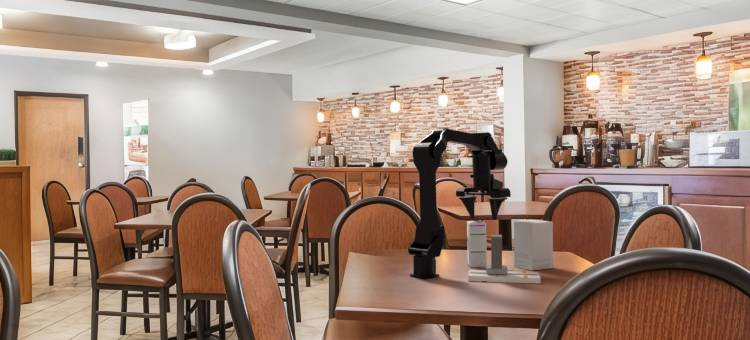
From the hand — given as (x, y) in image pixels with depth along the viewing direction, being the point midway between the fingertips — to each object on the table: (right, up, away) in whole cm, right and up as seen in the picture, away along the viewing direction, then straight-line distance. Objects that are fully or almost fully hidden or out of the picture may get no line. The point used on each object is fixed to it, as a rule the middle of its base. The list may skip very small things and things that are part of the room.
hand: (483, 218), depth 193 cm
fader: (0, -14, -21) cm, 25 cm away
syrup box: (-2, -16, 0) cm, 16 cm away
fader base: (+1, -16, -21) cm, 26 cm away
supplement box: (+15, -16, -3) cm, 22 cm away
